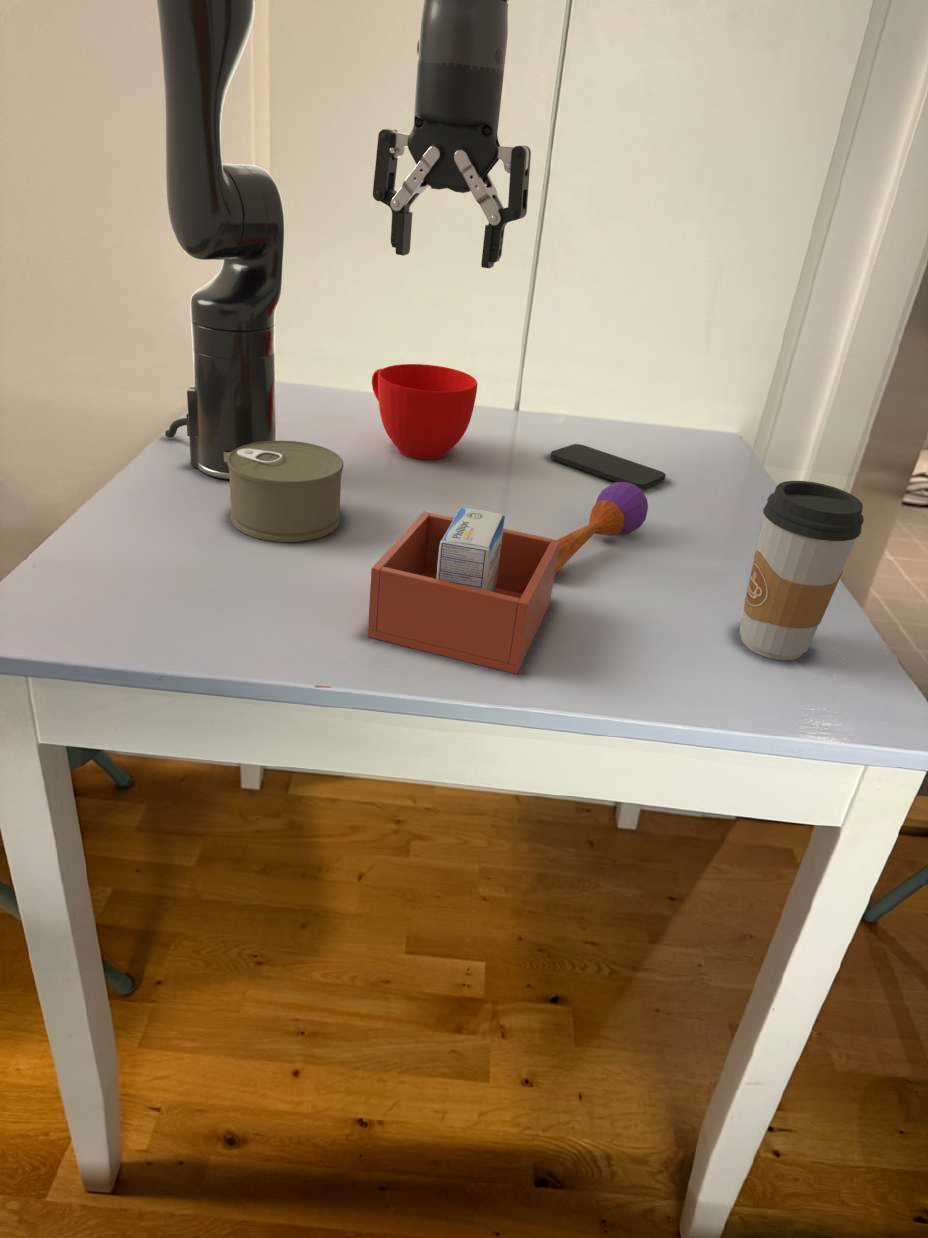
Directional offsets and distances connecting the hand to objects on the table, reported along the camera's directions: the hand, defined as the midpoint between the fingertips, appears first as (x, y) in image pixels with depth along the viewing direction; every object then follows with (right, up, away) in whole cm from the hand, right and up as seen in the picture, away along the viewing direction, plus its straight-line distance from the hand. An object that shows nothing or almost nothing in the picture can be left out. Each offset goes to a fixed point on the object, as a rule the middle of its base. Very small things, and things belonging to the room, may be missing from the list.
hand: (444, 260), depth 85 cm
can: (-18, -23, +13) cm, 32 cm away
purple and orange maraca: (+15, -27, +14) cm, 34 cm away
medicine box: (+2, -34, -3) cm, 34 cm away
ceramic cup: (-5, -11, +37) cm, 39 cm away
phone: (+21, -14, +37) cm, 45 cm away
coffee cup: (+31, -37, 0) cm, 48 cm away
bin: (+2, -34, -2) cm, 34 cm away
